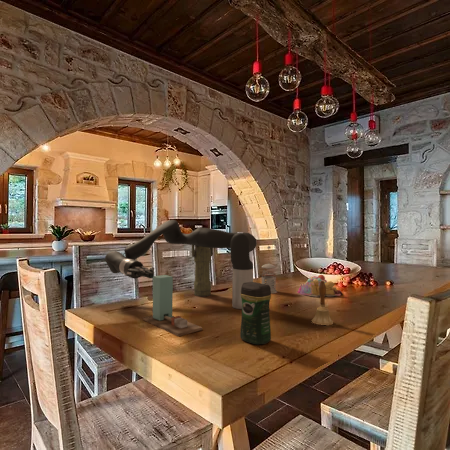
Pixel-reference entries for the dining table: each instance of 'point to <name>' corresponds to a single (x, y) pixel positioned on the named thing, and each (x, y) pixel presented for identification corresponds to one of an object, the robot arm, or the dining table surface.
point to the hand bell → (322, 308)
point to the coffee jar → (255, 313)
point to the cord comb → (174, 325)
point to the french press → (269, 277)
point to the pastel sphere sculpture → (313, 287)
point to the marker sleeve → (162, 296)
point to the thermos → (202, 270)
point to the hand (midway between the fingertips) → (151, 275)
